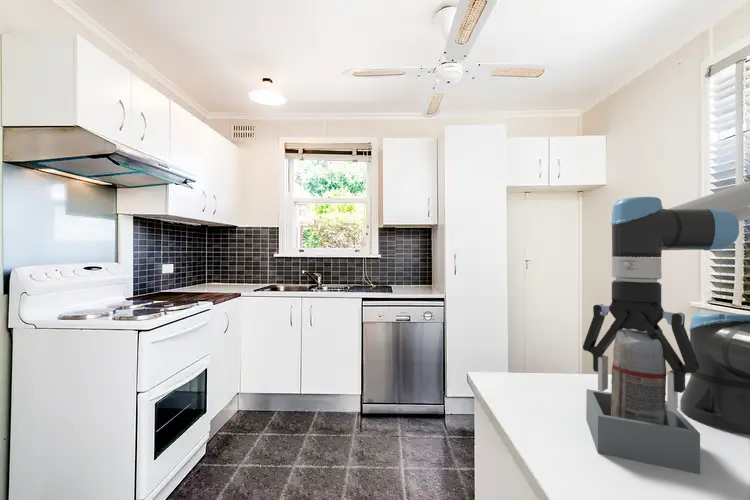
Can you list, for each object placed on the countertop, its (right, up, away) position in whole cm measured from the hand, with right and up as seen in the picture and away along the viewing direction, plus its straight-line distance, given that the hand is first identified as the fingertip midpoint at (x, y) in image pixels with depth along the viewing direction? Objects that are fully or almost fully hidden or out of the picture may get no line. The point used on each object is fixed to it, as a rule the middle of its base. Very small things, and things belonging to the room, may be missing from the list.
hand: (635, 398), depth 65 cm
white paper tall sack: (0, -7, 0) cm, 7 cm away
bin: (0, -8, 0) cm, 8 cm away
